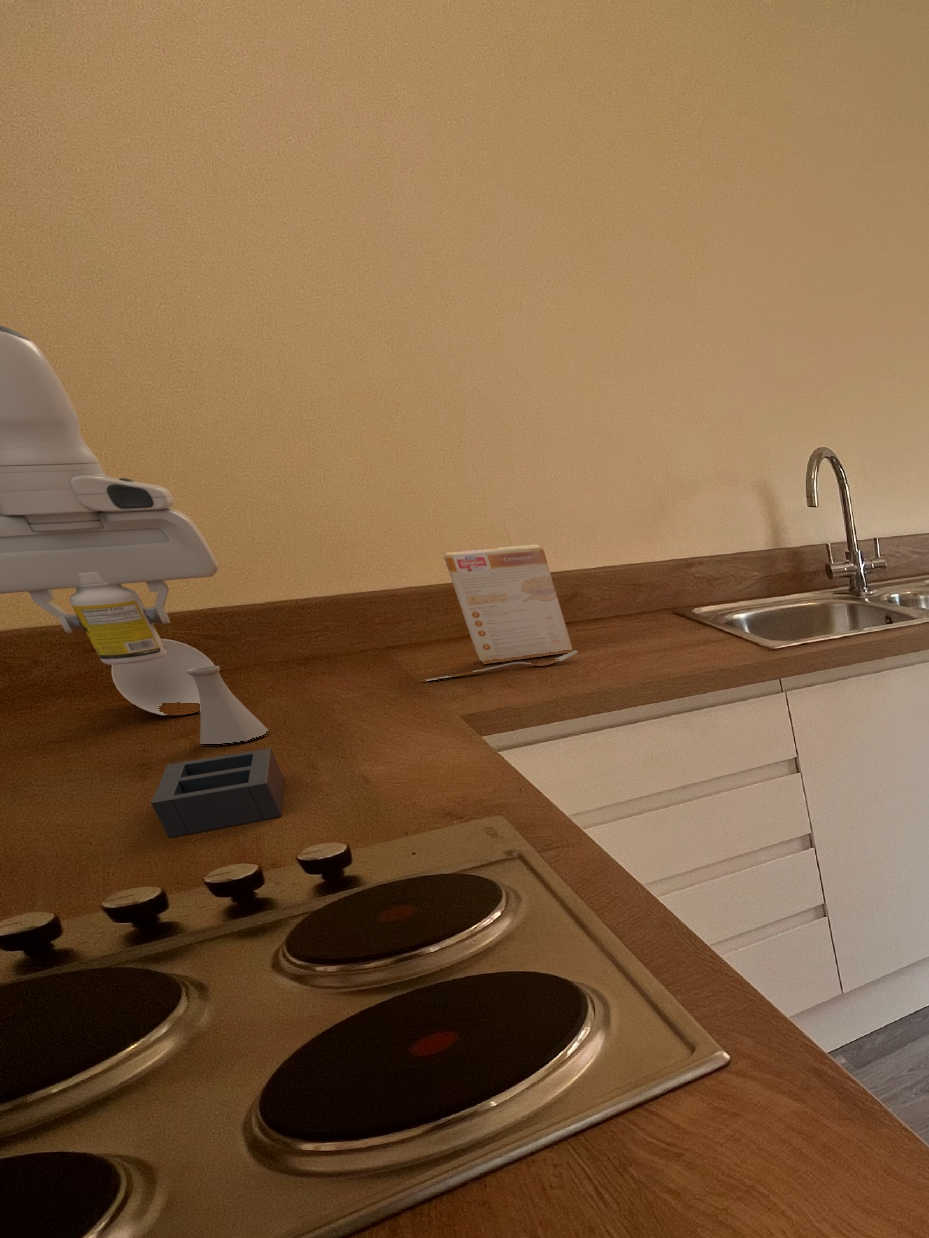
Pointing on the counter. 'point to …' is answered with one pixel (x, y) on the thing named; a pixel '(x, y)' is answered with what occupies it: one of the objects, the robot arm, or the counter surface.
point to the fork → (517, 663)
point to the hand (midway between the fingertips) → (120, 627)
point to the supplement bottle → (115, 622)
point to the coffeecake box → (508, 601)
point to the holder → (219, 792)
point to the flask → (222, 710)
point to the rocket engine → (161, 678)
